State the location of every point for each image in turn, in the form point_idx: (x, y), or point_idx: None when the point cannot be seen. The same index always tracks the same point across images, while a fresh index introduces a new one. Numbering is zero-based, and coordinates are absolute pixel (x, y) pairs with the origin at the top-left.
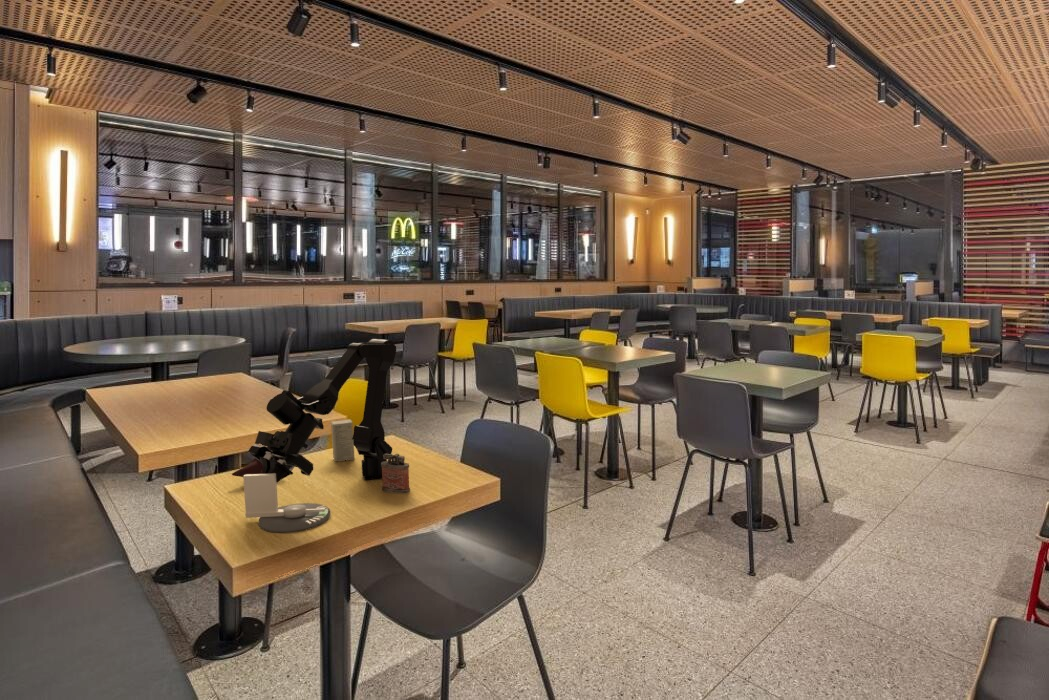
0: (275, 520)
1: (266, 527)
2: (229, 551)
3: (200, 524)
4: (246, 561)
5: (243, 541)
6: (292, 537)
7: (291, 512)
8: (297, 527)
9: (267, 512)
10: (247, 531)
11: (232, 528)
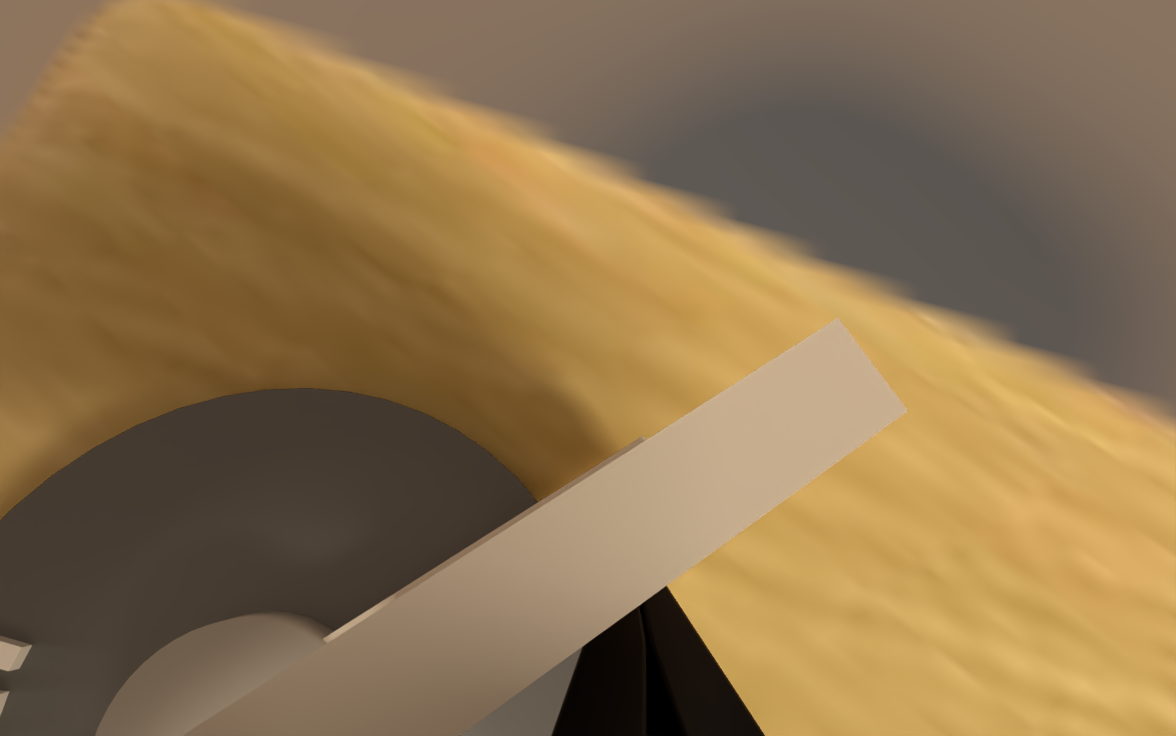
0: (367, 540)
1: (330, 395)
2: (334, 84)
3: (881, 297)
4: (112, 24)
5: (366, 211)
6: (24, 395)
7: (178, 639)
8: (34, 509)
9: (473, 548)
10: (478, 338)
11: (626, 333)
